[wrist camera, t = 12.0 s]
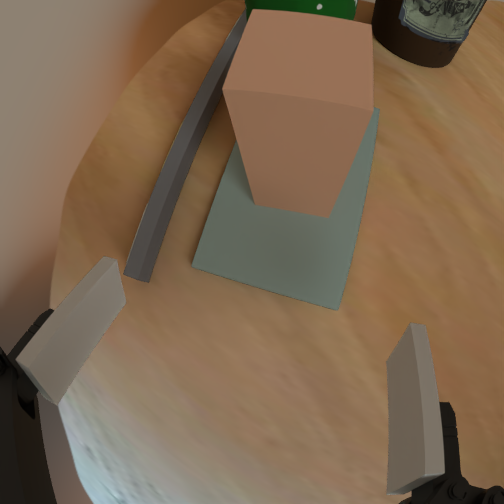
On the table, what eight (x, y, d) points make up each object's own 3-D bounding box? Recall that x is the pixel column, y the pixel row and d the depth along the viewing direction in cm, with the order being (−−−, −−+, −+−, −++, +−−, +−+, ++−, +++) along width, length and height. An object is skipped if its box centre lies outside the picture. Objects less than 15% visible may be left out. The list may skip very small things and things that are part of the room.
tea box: (336, 153, 21) (371, 24, 10) (328, 218, 21) (373, 111, 9) (267, 141, 22) (250, 9, 10) (253, 204, 21) (219, 88, 9)
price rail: (248, 16, 26) (246, 4, 24) (260, 17, 26) (259, 5, 24) (132, 276, 22) (120, 273, 20) (148, 282, 22) (137, 279, 20)
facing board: (260, 84, 24) (260, 80, 23) (378, 113, 22) (379, 109, 22) (193, 267, 21) (191, 266, 21) (336, 310, 20) (338, 310, 19)
